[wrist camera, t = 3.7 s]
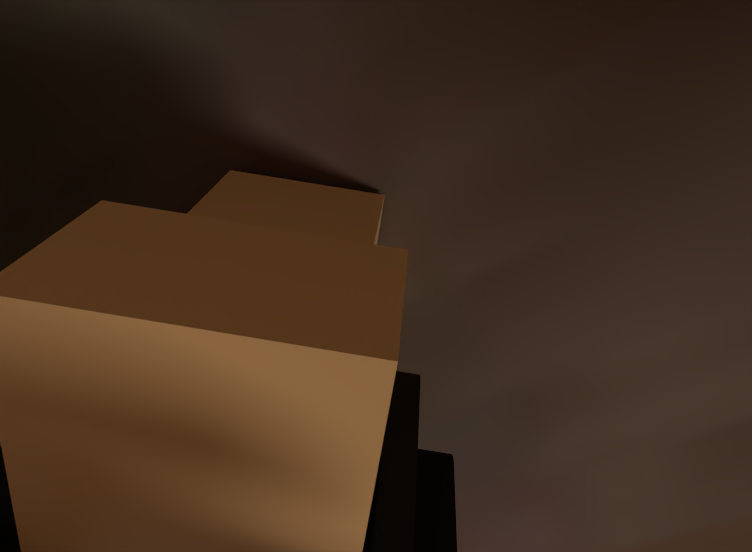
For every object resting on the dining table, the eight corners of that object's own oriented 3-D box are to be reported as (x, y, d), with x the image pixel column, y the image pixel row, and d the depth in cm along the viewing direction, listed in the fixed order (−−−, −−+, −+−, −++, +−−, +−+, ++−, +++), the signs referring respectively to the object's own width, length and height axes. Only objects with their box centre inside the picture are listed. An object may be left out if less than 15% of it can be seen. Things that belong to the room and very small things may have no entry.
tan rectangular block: (416, 161, 11) (397, 360, 6) (357, 505, 16) (311, 824, 10) (205, 127, 12) (-28, 291, 6) (201, 479, 16) (63, 781, 10)
